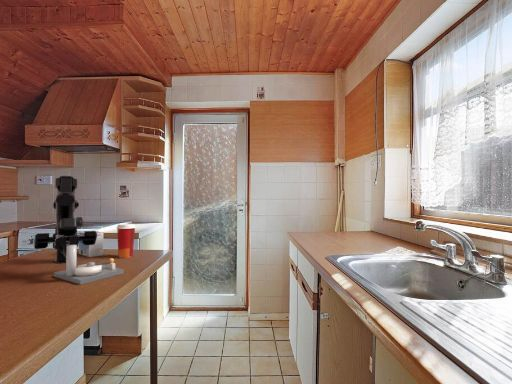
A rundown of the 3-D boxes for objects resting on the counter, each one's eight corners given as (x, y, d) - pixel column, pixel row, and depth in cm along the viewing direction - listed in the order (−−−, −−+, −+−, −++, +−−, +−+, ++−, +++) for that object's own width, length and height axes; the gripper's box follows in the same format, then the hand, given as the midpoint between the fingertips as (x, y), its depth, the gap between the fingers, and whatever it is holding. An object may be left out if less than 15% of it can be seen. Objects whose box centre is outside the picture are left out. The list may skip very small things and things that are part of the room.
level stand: (54, 276, 104) (54, 261, 104) (97, 267, 118) (97, 254, 118) (80, 284, 97) (80, 268, 97) (123, 273, 111) (123, 259, 111)
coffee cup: (128, 254, 143) (129, 223, 143) (138, 256, 138) (139, 224, 138) (111, 256, 137) (112, 224, 136) (121, 259, 132) (122, 226, 132)
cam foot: (105, 266, 113) (106, 240, 113) (114, 271, 107) (114, 243, 107) (62, 272, 104) (63, 244, 104) (69, 278, 97) (69, 248, 97)
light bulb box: (78, 254, 141) (78, 231, 141) (92, 251, 146) (93, 230, 146) (89, 257, 135) (89, 233, 135) (103, 255, 140) (104, 232, 140)
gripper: (35, 209, 101) (36, 247, 92) (97, 209, 112) (102, 242, 104) (34, 230, 107) (34, 267, 98) (92, 227, 119) (97, 260, 110)
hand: (68, 259), depth 102 cm, fingers closed, pressing on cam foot
